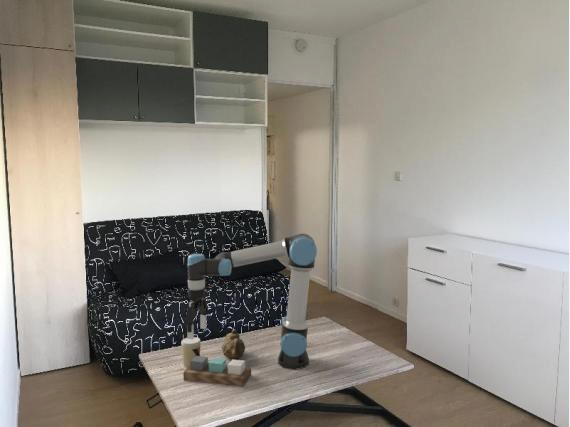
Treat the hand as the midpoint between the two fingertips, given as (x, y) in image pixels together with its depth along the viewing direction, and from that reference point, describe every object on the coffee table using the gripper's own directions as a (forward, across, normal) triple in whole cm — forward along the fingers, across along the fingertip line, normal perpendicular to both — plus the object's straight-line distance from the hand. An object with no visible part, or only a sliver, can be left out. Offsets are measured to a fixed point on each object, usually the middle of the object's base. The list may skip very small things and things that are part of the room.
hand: (197, 333), depth 215 cm
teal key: (+16, +1, +10) cm, 19 cm away
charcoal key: (+16, +1, +1) cm, 17 cm away
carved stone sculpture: (+20, -21, +10) cm, 30 cm away
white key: (+16, +1, +19) cm, 25 cm away
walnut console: (+19, +1, +10) cm, 22 cm away
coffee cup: (+20, -10, -8) cm, 23 cm away
